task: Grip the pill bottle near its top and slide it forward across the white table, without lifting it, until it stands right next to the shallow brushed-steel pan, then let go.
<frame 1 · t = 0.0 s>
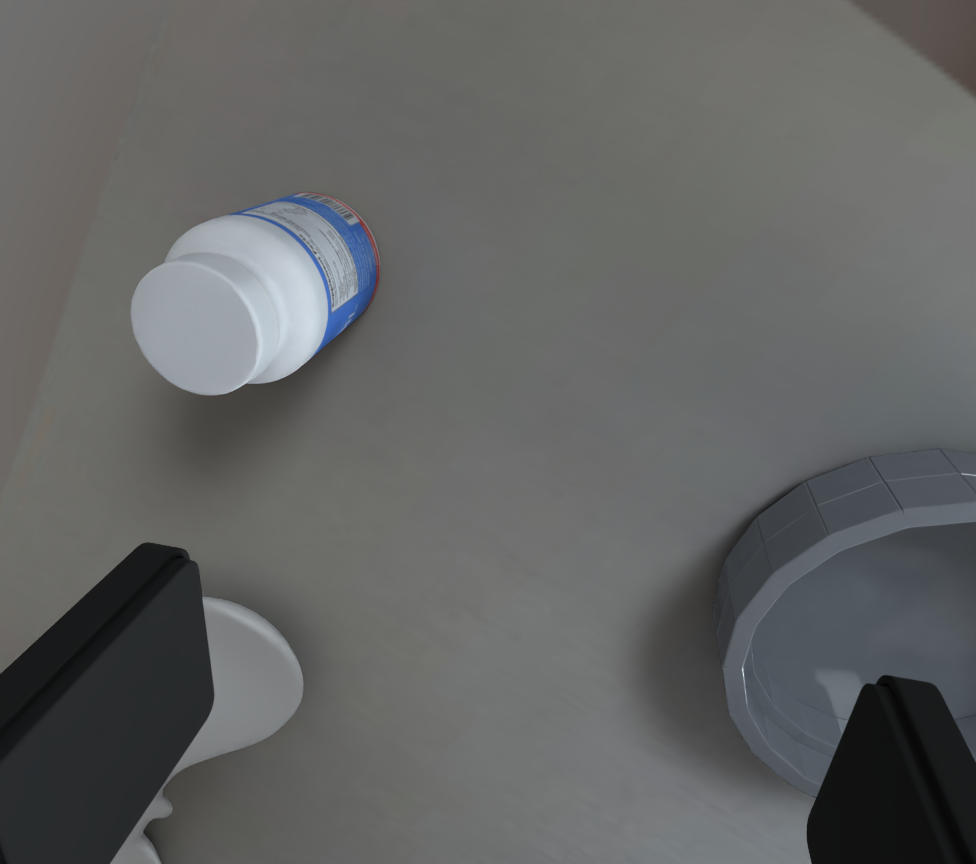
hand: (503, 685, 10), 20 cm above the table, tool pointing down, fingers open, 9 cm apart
pan: (901, 606, 31), on the table
pill bottle: (323, 258, 29), on the table
spoon: (180, 751, 45), on the table
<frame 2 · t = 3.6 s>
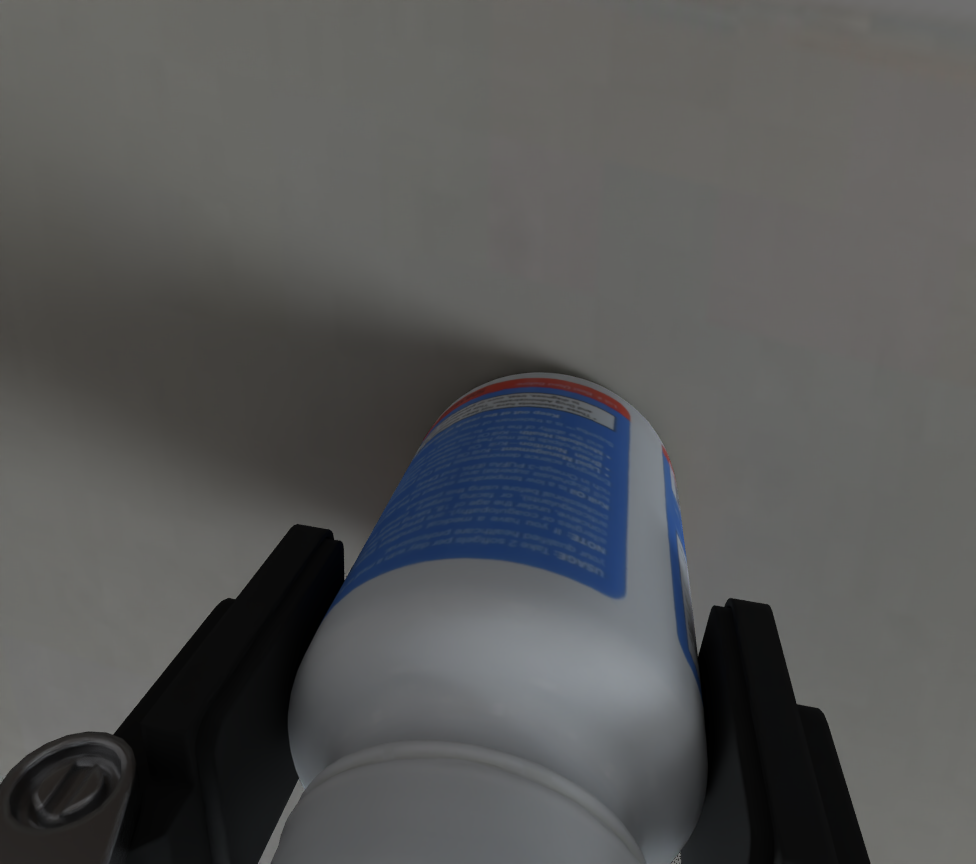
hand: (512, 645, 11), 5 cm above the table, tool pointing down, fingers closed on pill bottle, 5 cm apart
pill bottle: (547, 482, 15), on the table, touching gripper
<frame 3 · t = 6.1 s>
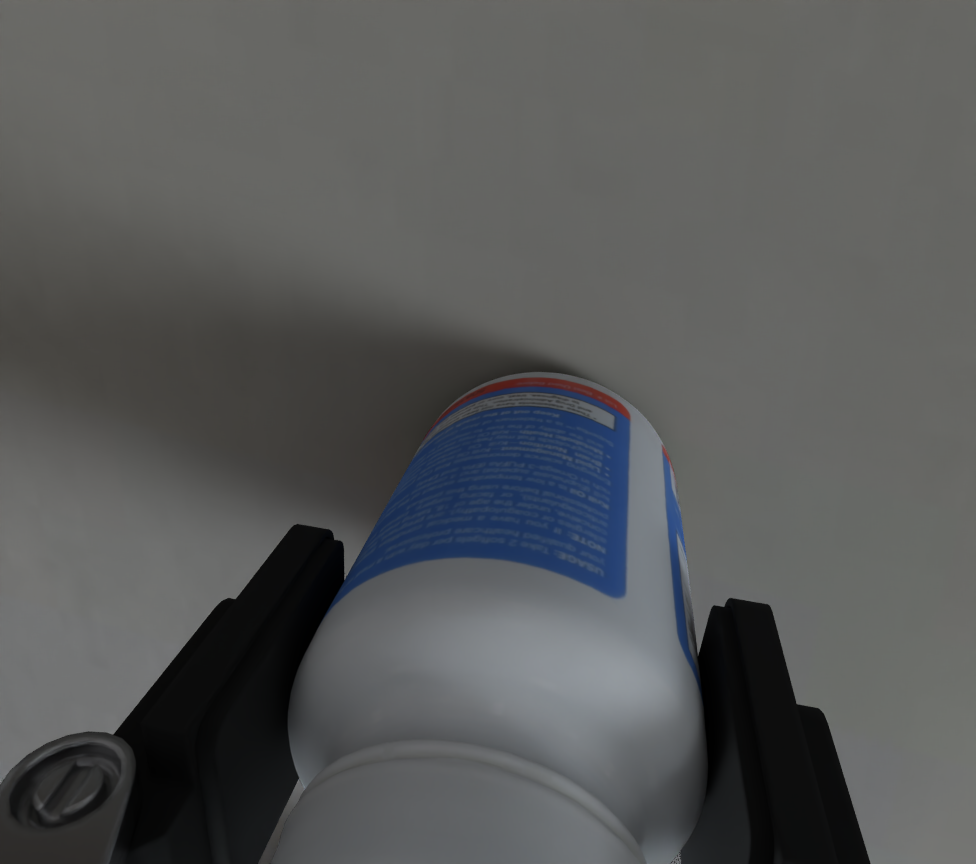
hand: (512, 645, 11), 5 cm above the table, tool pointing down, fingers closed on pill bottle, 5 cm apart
pill bottle: (547, 481, 15), on the table, touching gripper
when the fingers open (5 cm above the table, at t = 8.9 s): pill bottle stays where it is, on the table.
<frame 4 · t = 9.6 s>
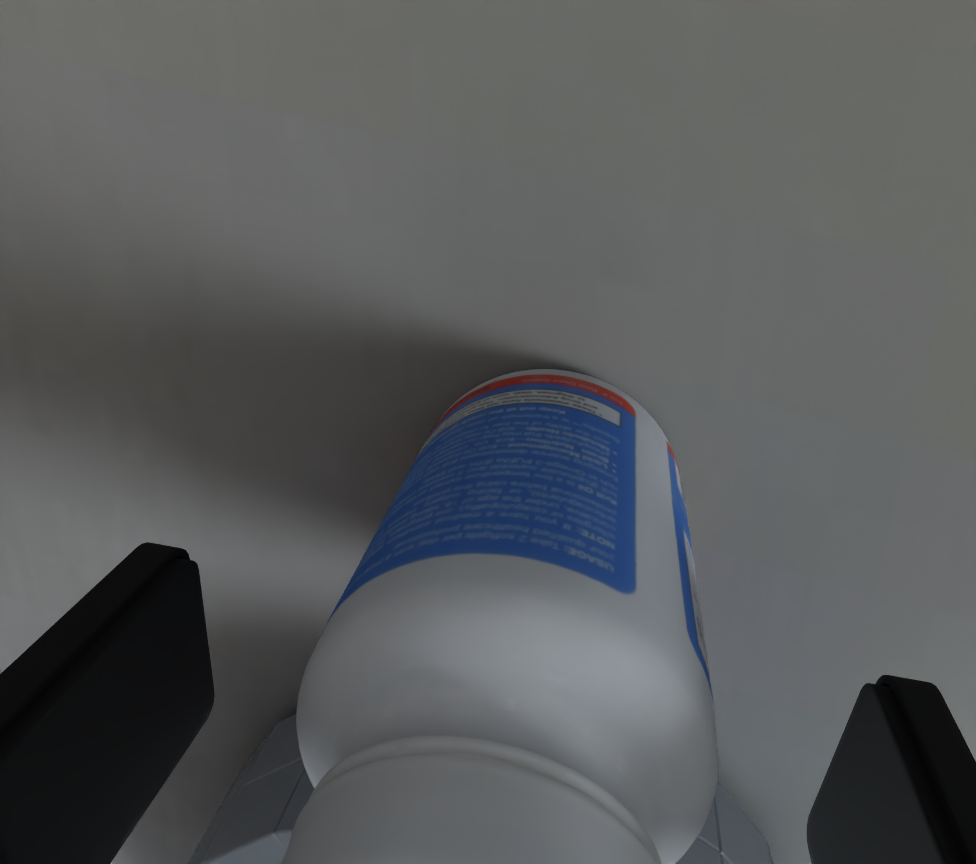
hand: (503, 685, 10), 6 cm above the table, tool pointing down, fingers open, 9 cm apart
pill bottle: (551, 479, 15), on the table
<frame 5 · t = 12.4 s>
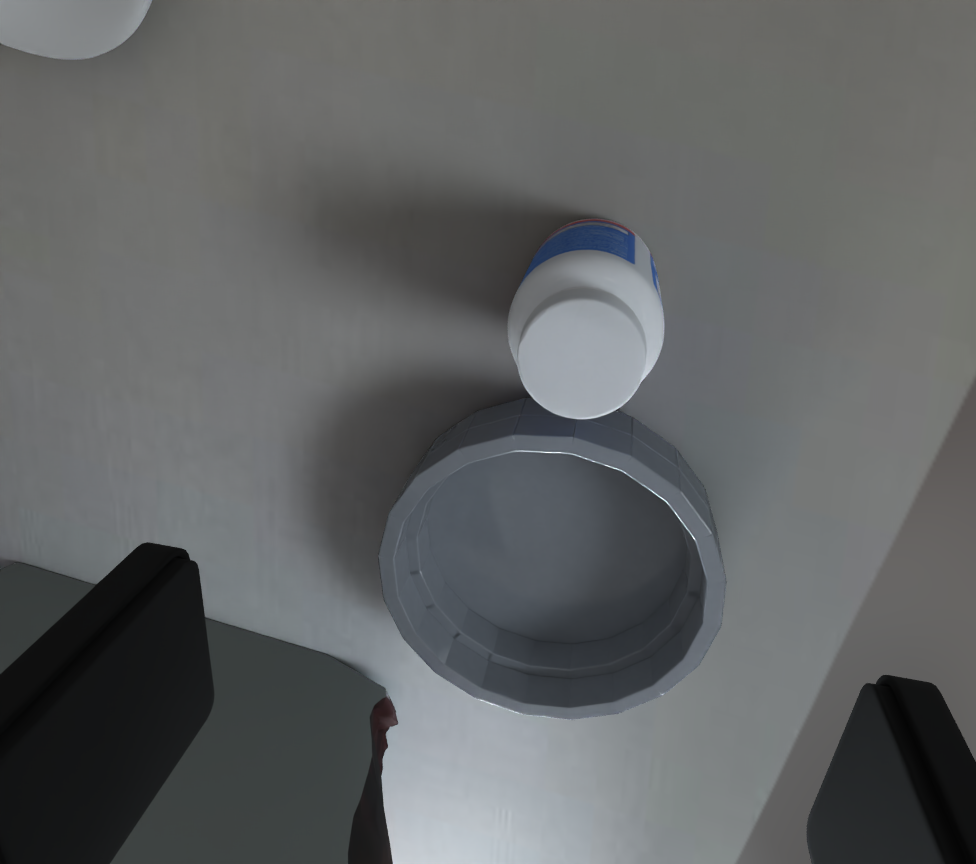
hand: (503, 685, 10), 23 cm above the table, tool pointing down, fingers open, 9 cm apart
pan: (554, 535, 37), on the table
pill bottle: (593, 280, 31), on the table
basket: (161, 744, 50), on the table
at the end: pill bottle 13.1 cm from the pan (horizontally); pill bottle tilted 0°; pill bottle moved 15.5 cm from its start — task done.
